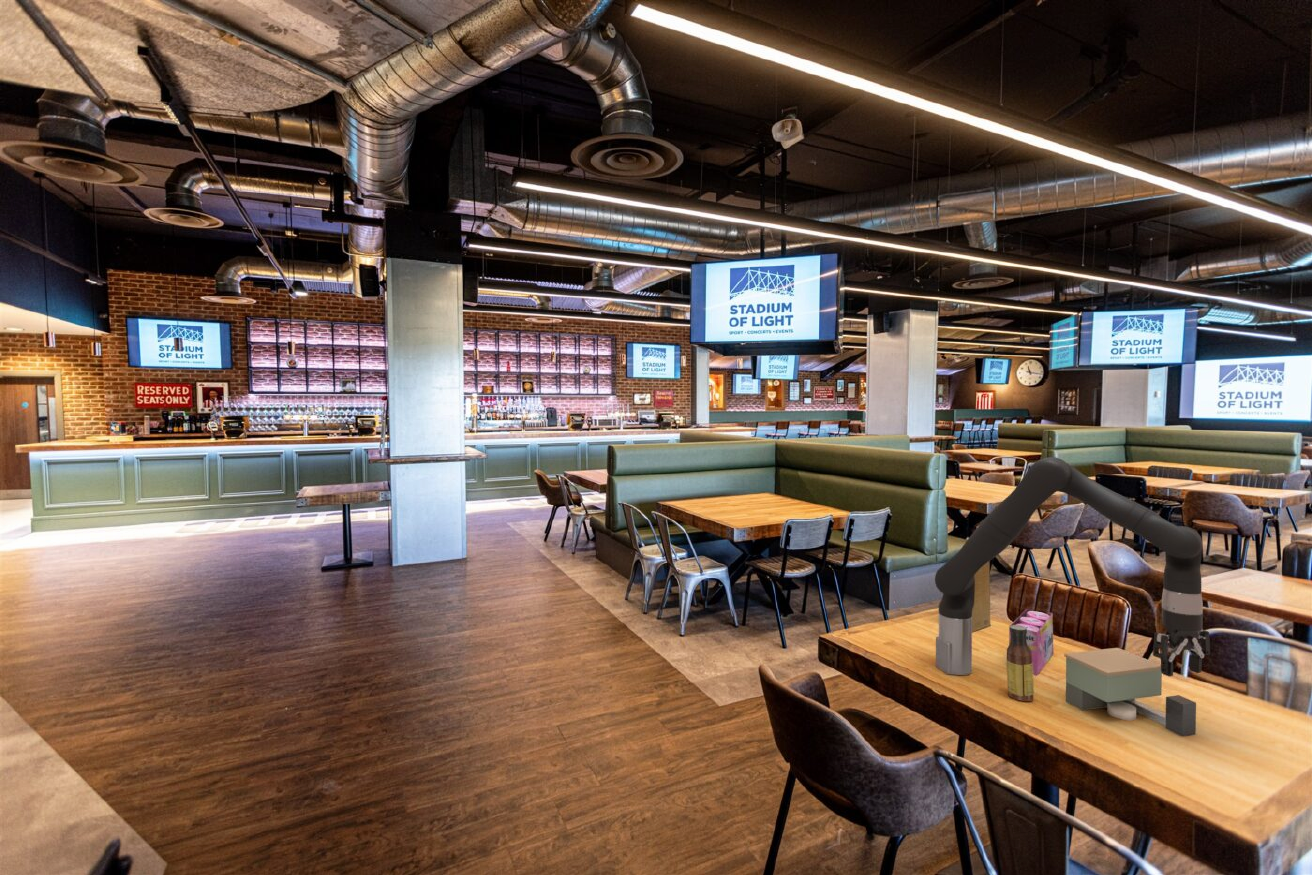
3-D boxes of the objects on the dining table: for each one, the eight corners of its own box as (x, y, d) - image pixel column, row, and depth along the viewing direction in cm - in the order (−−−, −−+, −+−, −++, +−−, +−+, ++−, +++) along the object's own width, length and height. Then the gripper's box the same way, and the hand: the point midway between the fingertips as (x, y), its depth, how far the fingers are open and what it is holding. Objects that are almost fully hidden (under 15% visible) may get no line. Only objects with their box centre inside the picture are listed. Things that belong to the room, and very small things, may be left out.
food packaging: (967, 618, 230) (967, 554, 229) (991, 625, 222) (992, 559, 221) (947, 625, 222) (947, 559, 222) (971, 633, 214) (971, 564, 214)
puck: (1123, 722, 152) (1123, 712, 152) (1101, 710, 158) (1101, 701, 158) (1142, 719, 153) (1142, 709, 153) (1120, 708, 159) (1120, 699, 159)
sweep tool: (1182, 736, 145) (1182, 704, 144) (1123, 707, 159) (1123, 677, 159) (1195, 734, 146) (1196, 702, 145) (1135, 705, 160) (1135, 676, 160)
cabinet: (1106, 724, 151) (1107, 672, 150) (1063, 701, 163) (1064, 653, 163) (1163, 716, 154) (1164, 666, 154) (1117, 694, 167) (1117, 647, 166)
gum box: (1027, 646, 202) (1027, 607, 201) (1054, 652, 196) (1055, 612, 196) (1008, 668, 185) (1008, 625, 184) (1037, 676, 179) (1038, 631, 179)
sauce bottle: (1030, 693, 168) (1030, 624, 167) (1036, 703, 162) (1037, 632, 161) (1004, 690, 170) (1004, 622, 169) (1009, 700, 164) (1009, 629, 163)
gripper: (1174, 615, 141) (1173, 683, 142) (1222, 610, 144) (1221, 676, 144) (1142, 606, 148) (1142, 670, 149) (1188, 601, 151) (1188, 664, 152)
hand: (1181, 673), depth 147 cm, fingers open, 8 cm apart
